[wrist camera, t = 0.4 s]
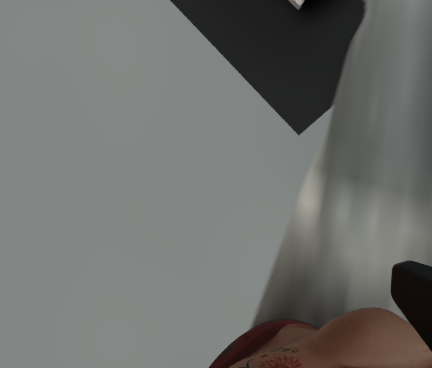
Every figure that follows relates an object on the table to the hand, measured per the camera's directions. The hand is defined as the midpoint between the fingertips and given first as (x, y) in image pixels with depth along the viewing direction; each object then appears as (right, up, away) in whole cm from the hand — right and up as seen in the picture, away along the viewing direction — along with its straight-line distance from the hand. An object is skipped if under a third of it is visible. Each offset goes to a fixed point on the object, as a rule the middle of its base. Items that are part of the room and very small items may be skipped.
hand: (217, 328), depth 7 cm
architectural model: (+5, +22, +22) cm, 32 cm away
